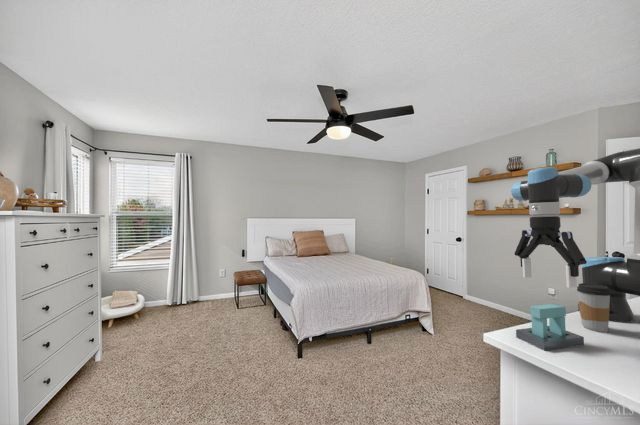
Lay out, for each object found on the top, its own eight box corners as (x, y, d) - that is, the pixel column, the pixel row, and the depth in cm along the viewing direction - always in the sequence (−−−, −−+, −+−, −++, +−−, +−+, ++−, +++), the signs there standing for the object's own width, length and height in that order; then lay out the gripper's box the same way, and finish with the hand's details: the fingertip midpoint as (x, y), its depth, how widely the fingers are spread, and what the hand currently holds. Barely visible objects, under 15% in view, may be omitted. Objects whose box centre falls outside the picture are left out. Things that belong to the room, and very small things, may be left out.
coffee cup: (620, 334, 87) (618, 289, 88) (590, 332, 89) (588, 288, 89) (598, 324, 96) (597, 283, 96) (572, 323, 97) (570, 282, 98)
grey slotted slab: (553, 332, 89) (552, 325, 90) (584, 345, 81) (583, 337, 81) (516, 337, 87) (516, 329, 87) (544, 350, 78) (543, 342, 78)
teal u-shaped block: (555, 337, 86) (554, 303, 87) (567, 342, 83) (566, 307, 83) (530, 340, 84) (529, 305, 85) (541, 345, 81) (540, 309, 81)
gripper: (500, 216, 96) (503, 274, 96) (580, 215, 72) (584, 293, 71) (518, 216, 98) (520, 273, 97) (601, 214, 73) (605, 291, 73)
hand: (547, 282), depth 84 cm, fingers open, 13 cm apart
